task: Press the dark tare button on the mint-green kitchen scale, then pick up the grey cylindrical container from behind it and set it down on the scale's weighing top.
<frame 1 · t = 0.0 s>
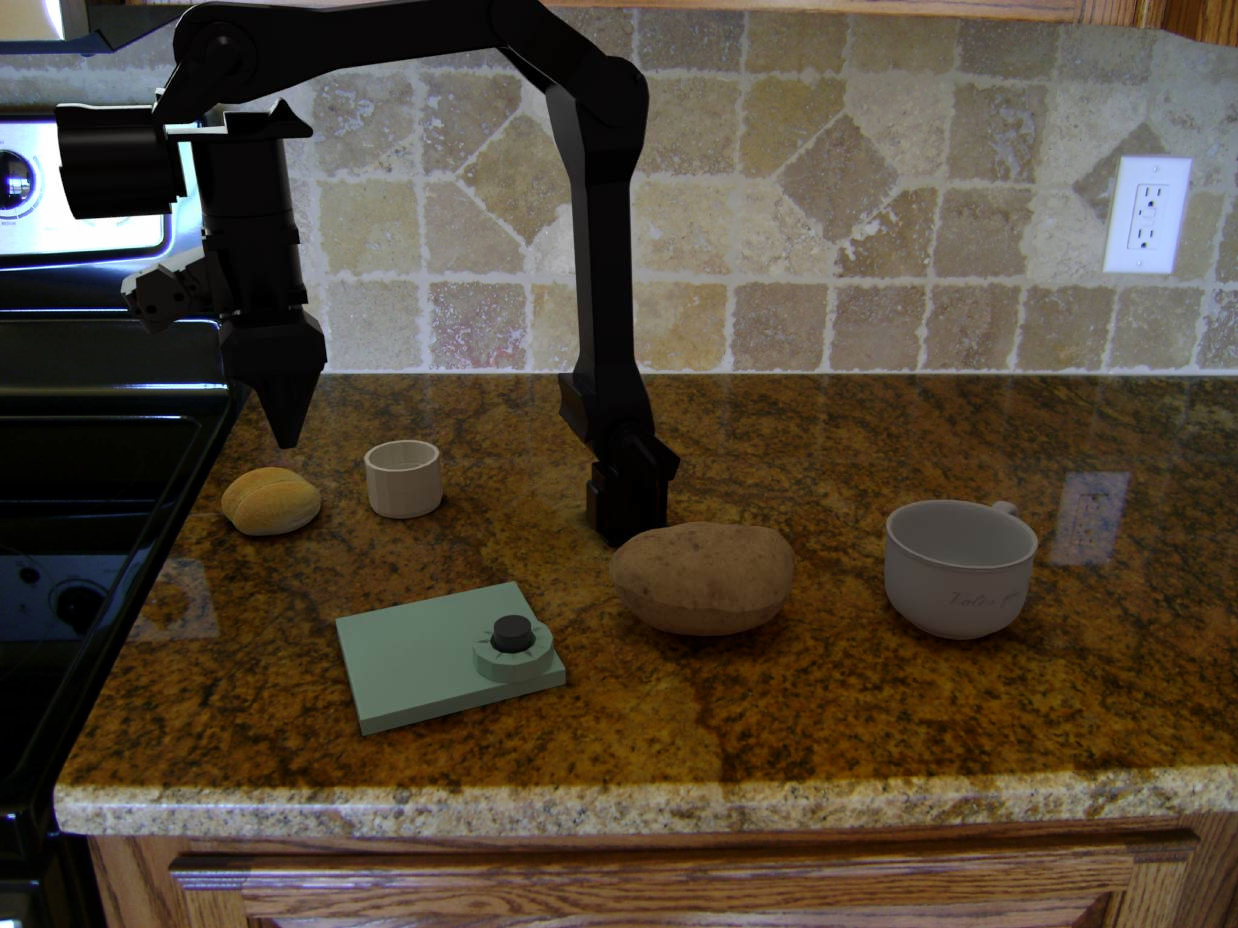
hand: (282, 423, 69), 15 cm above the table, tool pointing down, fingers open, 9 cm apart
scale: (447, 658, 68), on the table
grey cylindrical container: (406, 502, 89), on the table
bread roll: (273, 516, 87), on the table
potato: (698, 625, 72), on the table
teacup: (956, 611, 74), on the table
tare button: (512, 634, 65), point 3 cm above the table, slide at 0.1 cm
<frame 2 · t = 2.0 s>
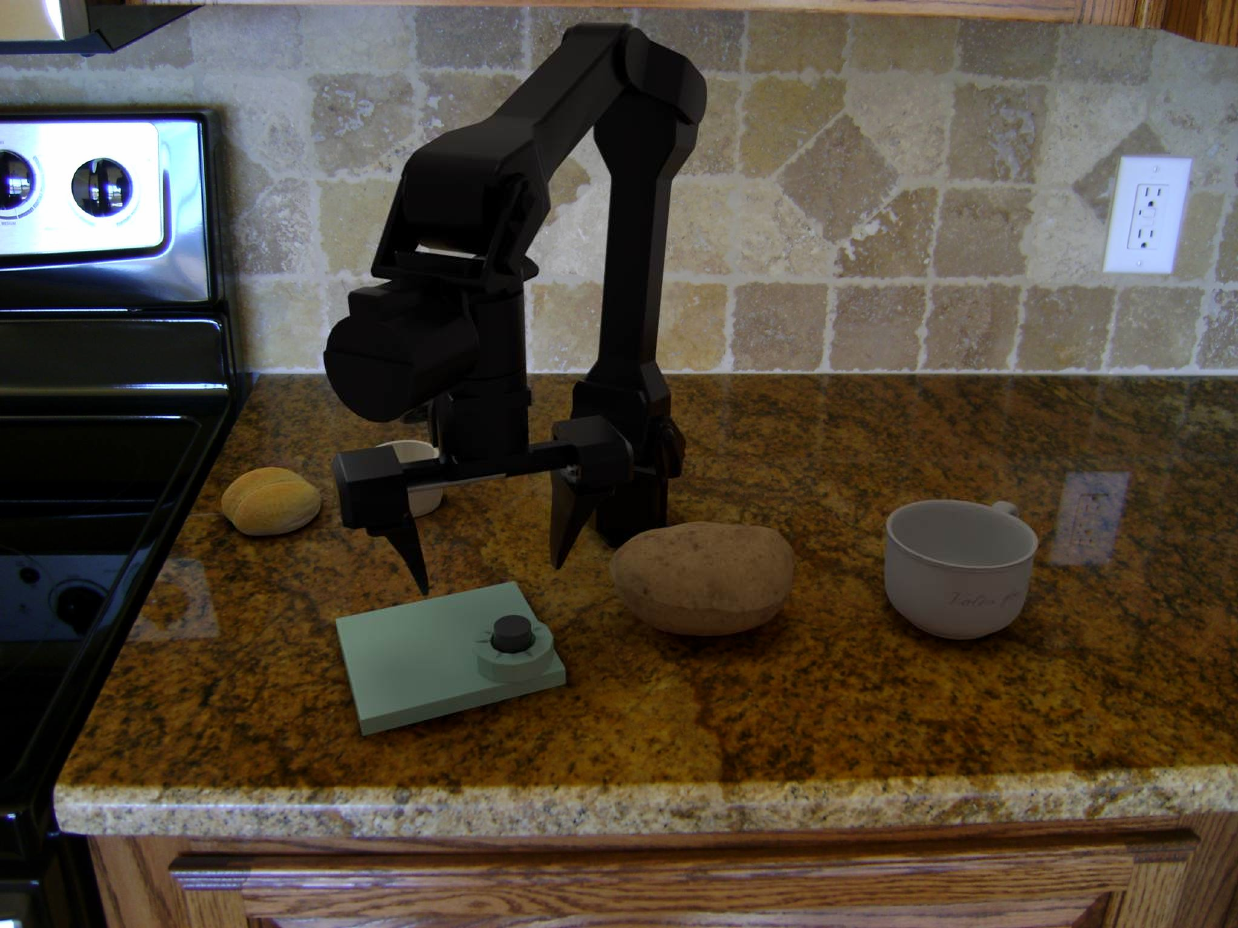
hand: (491, 579, 64), 7 cm above the table, tool pointing down, fingers open, 9 cm apart
nothing on the table moved.
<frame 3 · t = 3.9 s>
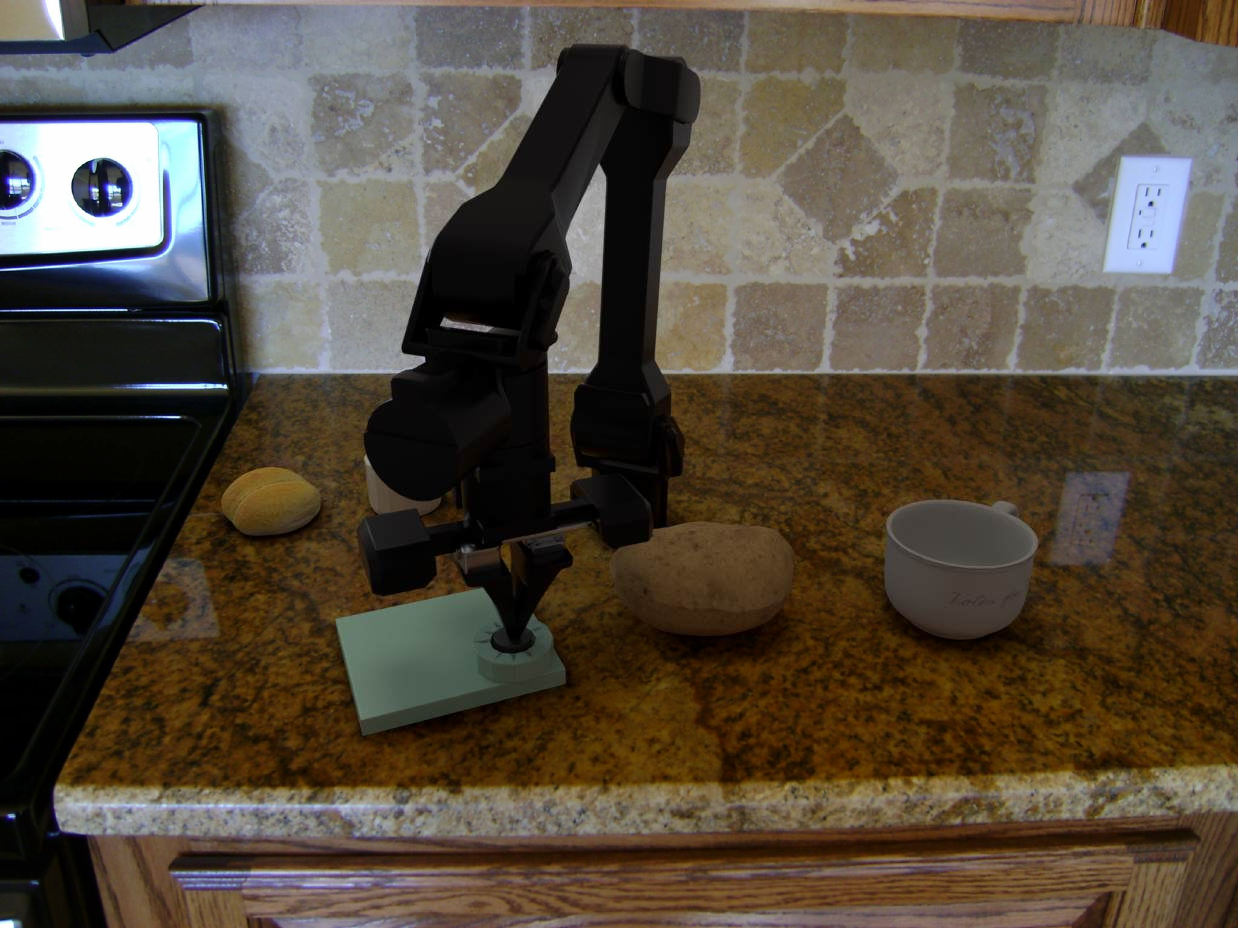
hand: (512, 635, 65), 3 cm above the table, tool pointing down, fingers closed, pressing on tare button
tare button: (513, 644, 65), point 3 cm above the table, slide at -0.7 cm, touching gripper
everything else where it was.
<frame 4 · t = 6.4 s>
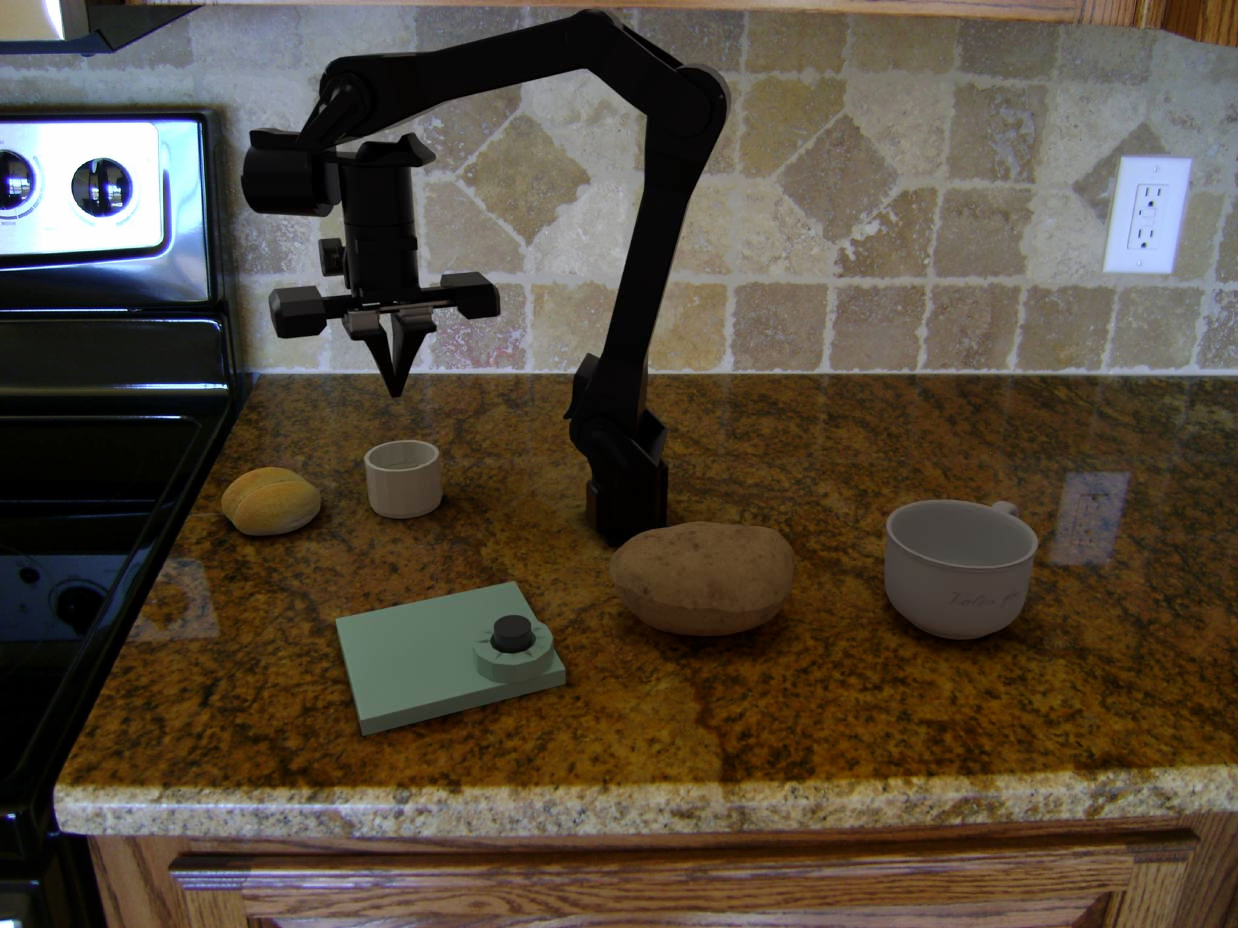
hand: (395, 396, 84), 11 cm above the table, tool pointing down, fingers closed
tare button: (512, 634, 65), point 3 cm above the table, slide at 0.1 cm
everything else where it was.
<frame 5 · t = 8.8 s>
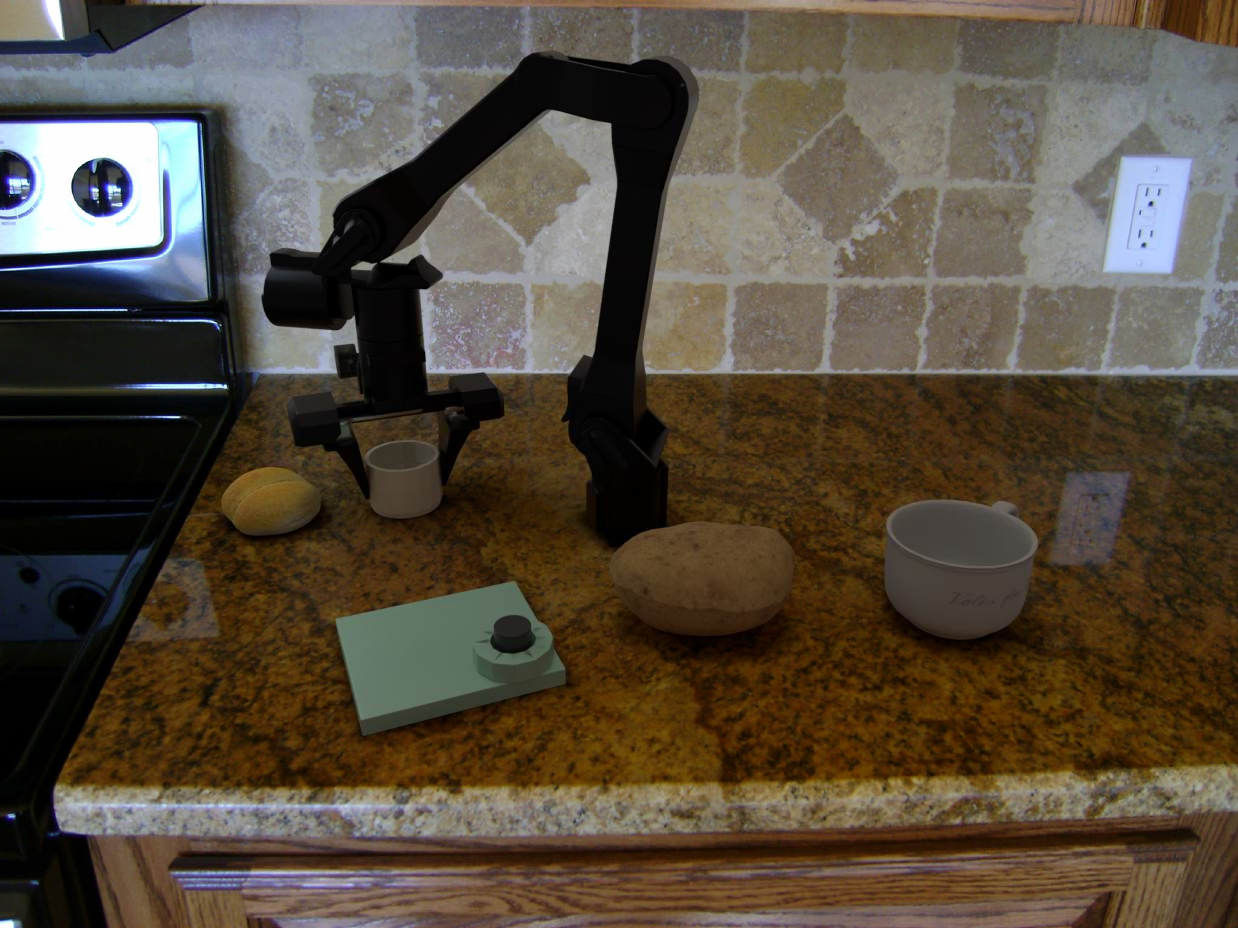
hand: (405, 490, 89), 1 cm above the table, tool pointing down, fingers closed on grey cylindrical container, 7 cm apart
grey cylindrical container: (406, 502, 89), on the table, touching gripper
everything else where it was.
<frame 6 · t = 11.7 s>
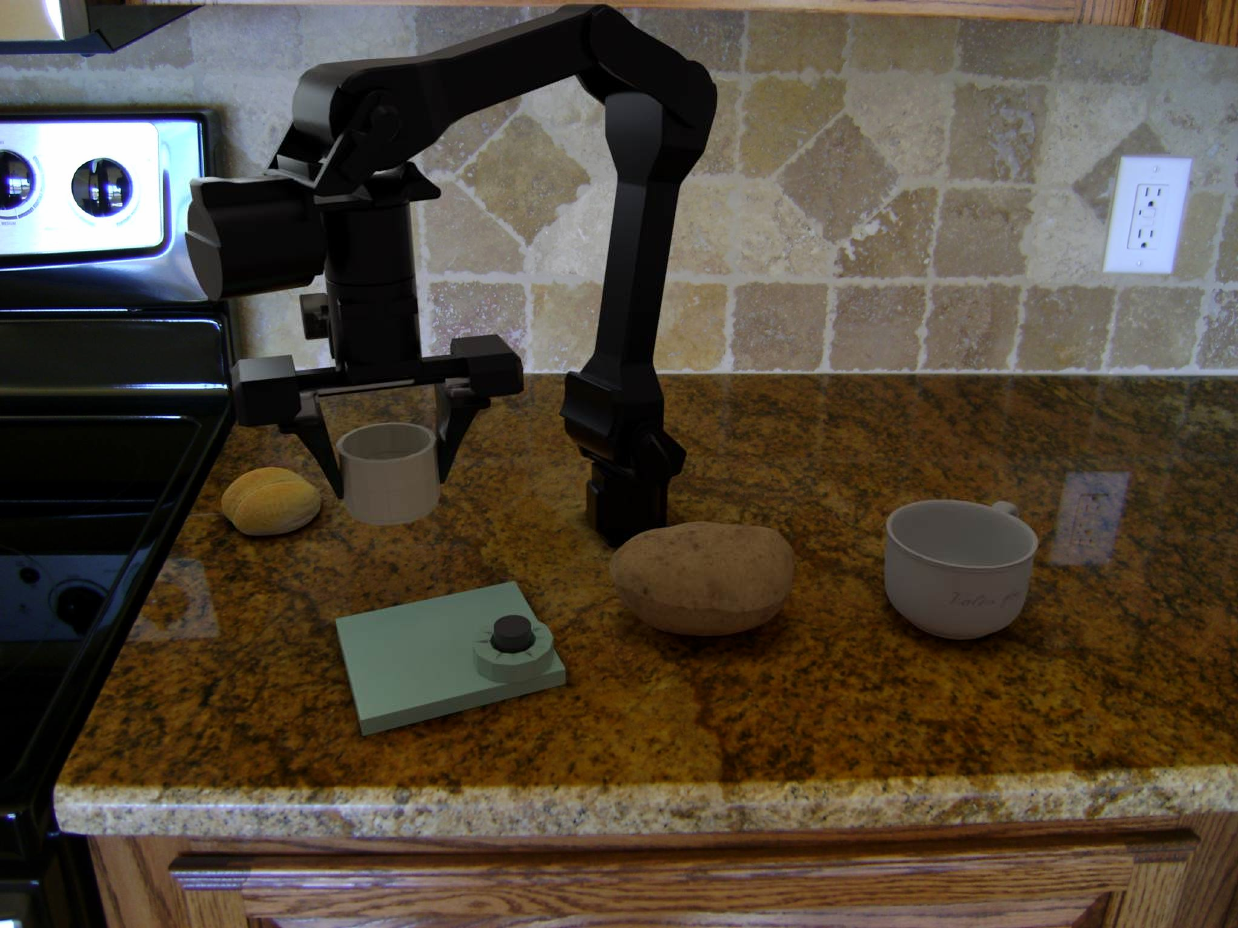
hand: (392, 489, 67), 11 cm above the table, tool pointing down, fingers closed on grey cylindrical container, 7 cm apart
grey cylindrical container: (392, 503, 68), point 10 cm above the table, touching gripper
everything else where it was.
when the fingers open (3 cm above the table, at t = 14.7 s): grey cylindrical container stays where it is, resting on scale.
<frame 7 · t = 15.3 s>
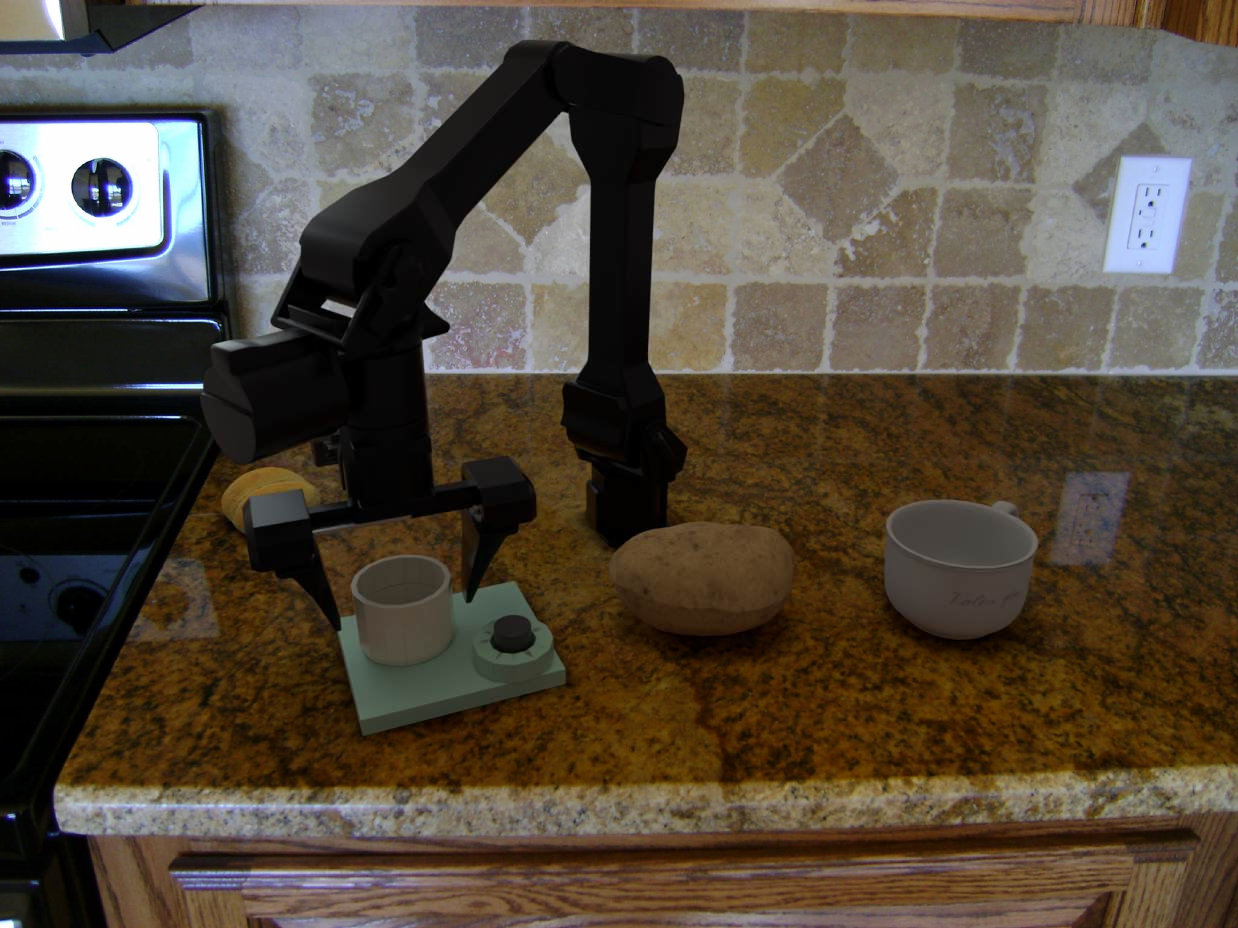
hand: (404, 613, 67), 4 cm above the table, tool pointing down, fingers open, 9 cm apart
grey cylindrical container: (407, 638, 68), point 1 cm above the table, touching scale
everything else where it was.
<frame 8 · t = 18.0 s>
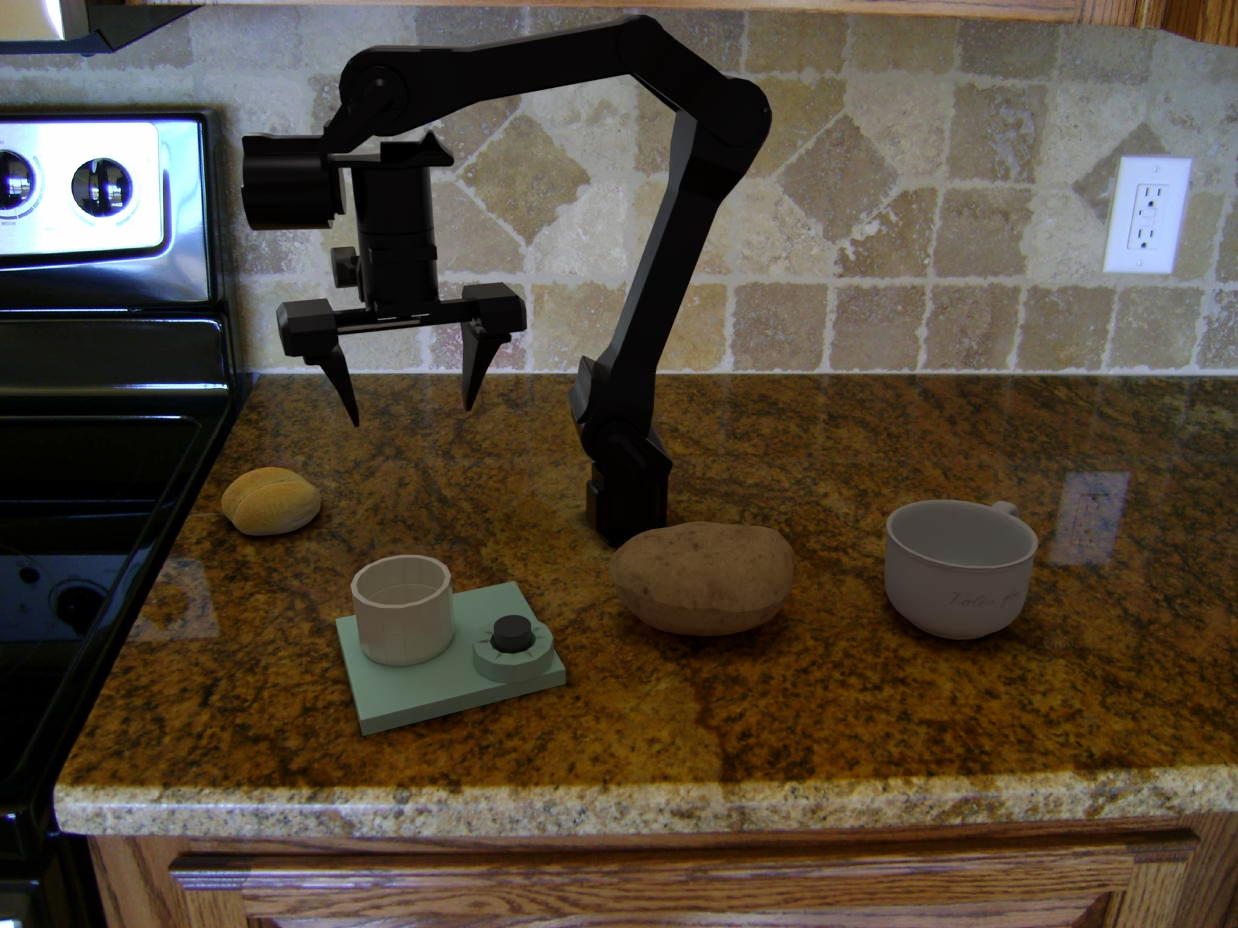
hand: (412, 417, 77), 12 cm above the table, tool pointing down, fingers open, 9 cm apart
nothing on the table moved.
at the end: tare button pushed in 0.9 cm at the most during the clip, back to where it started at the end; grey cylindrical container inside the target area on the scale (1.9 cm from its centre), point 1.4 cm above the scale's base; grey cylindrical container tilted 0° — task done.
